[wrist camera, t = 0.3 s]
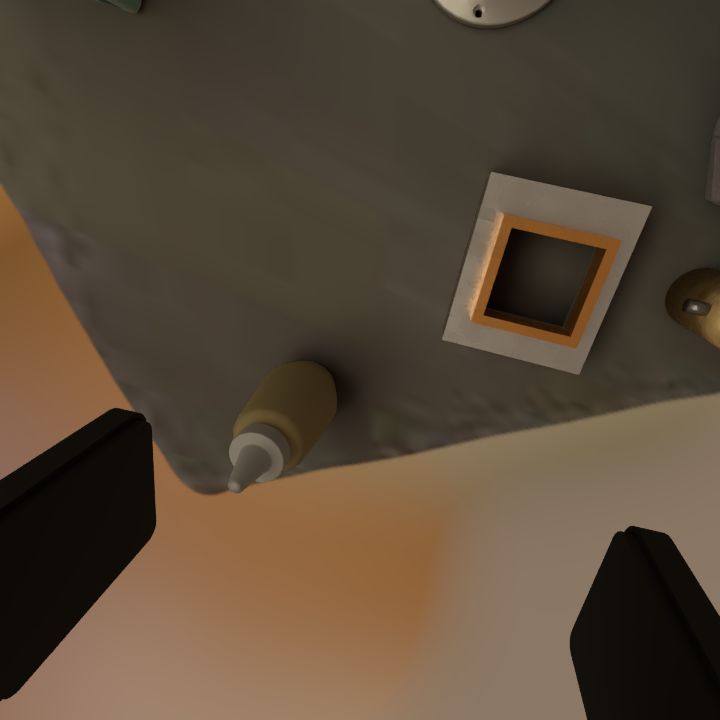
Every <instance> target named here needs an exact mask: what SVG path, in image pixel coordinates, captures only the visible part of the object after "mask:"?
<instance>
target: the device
mask: <svg viewBox="0 0 720 720" xmlns="http://www.w3.org/2000/svg"><path fill="white" fill-rule="evenodd" d="M96 1H99V2H102V3H104V4H107V5H110V6H113V7H116V8H119V9H122V10H125V11H128V12H130V13H137V12H138V10H139V9H140V7H141V0H96Z"/></svg>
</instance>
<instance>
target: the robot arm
mask: <svg viewBox="0 0 720 720" xmlns="http://www.w3.org/2000/svg"><path fill="white" fill-rule="evenodd" d="M433 1H434V3H435V4H436V5H437V7H438V8H439V9H441V10H442V11H443V12H444V13H445V14H447V15H448V16H449V17H450V18H452V19H454V20H456V21H458V22H460V23H462V24H464V25H468V26H472V27H476V28H500V27H505V26H509V25H513V24H515V23H518V22H520V21H522V20H525V19H527V18H529V17H530V16H532V15H533V14H535V13H536V12H538V11H539V10H541V9H543V8H544V7H545V6H546V5H547V4H548V3H549V2H550V1H552V0H433ZM478 11H480V12H481V13H482V16H481V17H480V18H477V17H476V16H475V14H476V12H478ZM155 509H156V508H155V486H154V465H153V444H152V428H151V425H150V423H148V422H146V418H145V417H144V415H143V414H141V413H137V412H132V411H128V410H124V409H119V408H113V409H111V410H109V411H107V412H106V413H104V414H103V415H101V416H99V417H98V418H96V419H95V420H93V421H92V422H90V423H89V424H87V425H85V426H84V427H82V428H81V429H79V430H78V431H76V432H74V433H73V434H72V435H70V436H68V437H67V438H65V439H64V440H62V441H60V442H59V443H58V444H56V445H54V446H53V447H51V448H50V449H48V450H47V451H45V452H43V453H42V454H40V455H39V456H37V457H36V458H34V459H32V460H31V461H29V462H28V463H26V464H25V465H23V466H22V467H20V468H18V469H17V470H15V471H14V472H12V473H11V474H9V475H8V476H6V477H5V478H3V479H1V480H0V701H1V700H2V699H8V698H10V697H11V696H13V695H14V694H15V693H17V691H19V690H20V688H21V687H22V686H23V685H24V684H25V682H26V681H28V679H29V678H30V677H31V676H32V675H33V673H34V672H35V671H36V670H37V669H38V668H39V667H40V666H41V664H42V663H43V662H44V661H45V660H46V659H47V657H48V656H49V655H50V654H51V653H52V652H53V651H54V649H55V648H56V647H57V646H58V645H59V643H60V642H61V641H62V640H63V639H64V638H65V637H66V635H67V634H68V633H69V632H70V631H71V630H72V628H74V626H75V625H76V624H77V623H78V622H79V621H80V619H81V618H82V617H83V616H84V615H85V614H86V613H87V611H88V610H89V609H90V608H91V607H92V606H93V604H94V603H95V602H96V601H97V600H98V599H99V597H100V596H101V595H102V594H103V593H104V592H105V590H106V589H107V588H108V587H109V586H110V585H111V584H112V583H113V581H114V580H115V579H116V578H117V577H118V576H119V574H120V573H121V572H122V571H123V570H124V569H125V567H126V566H127V565H128V564H129V563H130V562H131V561H132V560H133V558H134V557H135V556H136V555H137V554H138V553H139V551H140V550H141V549H142V548H143V547H144V546H145V544H146V543H147V542H148V541H149V540H150V538H151V536H152V535H153V532H154V530H155V526H156V510H155ZM570 651H571V656H572V660H573V664H574V668H575V672H576V676H577V680H578V684H579V688H580V692H581V696H582V700H583V704H584V708H585V712H586V716H587V720H720V616H719V615H718V613H717V611H716V610H715V608H714V607H713V605H712V603H711V602H710V600H709V599H708V597H707V595H706V594H705V592H704V591H703V589H702V587H701V586H700V584H699V582H698V581H697V579H696V578H695V576H694V574H693V573H692V571H691V570H690V568H689V566H688V565H687V563H686V562H685V560H684V558H683V557H682V555H681V553H680V552H679V551H678V549H677V547H676V545H675V544H674V542H673V541H672V539H671V538H670V537H669V536H668V535H667V534H665V533H662V532H657V531H653V530H649V529H644V528H640V527H635V526H629V527H628V528H627V529H626V530H625V532H621V531H619V532H617V533H616V534H615V535H614V537H613V539H612V541H611V543H610V546H609V548H608V550H607V553H606V555H605V557H604V559H603V562H602V564H601V566H600V568H599V570H598V573H597V575H596V577H595V579H594V582H593V584H592V586H591V588H590V591H589V593H588V595H587V598H586V600H585V602H584V604H583V606H582V609H581V611H580V614H579V616H578V618H577V620H576V622H575V624H574V627H573V629H572V632H571V636H570Z"/></svg>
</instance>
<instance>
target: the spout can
mask: <svg viewBox="0 0 720 720" xmlns="http://www.w3.org/2000/svg"><path fill="white" fill-rule="evenodd" d="M665 307H666V310H667V313H668V314H669V316H670V317H671V318H672V319H673V320H674V321H676V322H677V323H679V324H681V325H682V326H684V327H685V328H687V329H689V330H690V331H692V332H694V333H695V334H697V335H698V336H700V337H702V338H703V339H705V340H707V341H708V342H710V343H711V344H713V345H715V346H716V347H718V348H720V271H717V270H714V269H709V268H701V269H695V270H692V271H689V272H687V273H685V274H683V275H682V276H680V277H679V278H678V279H676V280H675V281H674V282H673V284H672V285H671V286H670V288H669V290H668V292H667V294H666V298H665Z"/></svg>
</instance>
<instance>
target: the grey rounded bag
mask: <svg viewBox="0 0 720 720" xmlns="http://www.w3.org/2000/svg"><path fill="white" fill-rule="evenodd" d="M712 136H713V138H712V140H711V148H710V157H709V165H708V174H707V182H706V191H705V200H707V201H709V202H711V203H713V204H715V205H717V206H719V207H720V116H719V118H718V121H717V123H716V126H715V129H714V131H713V134H712Z"/></svg>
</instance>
